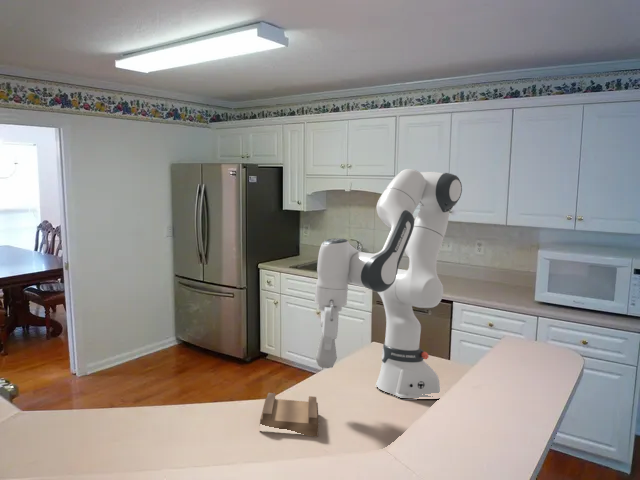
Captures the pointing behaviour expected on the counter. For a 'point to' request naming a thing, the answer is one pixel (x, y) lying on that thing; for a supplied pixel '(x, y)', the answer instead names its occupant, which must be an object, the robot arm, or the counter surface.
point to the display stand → (291, 415)
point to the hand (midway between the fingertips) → (327, 347)
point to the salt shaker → (326, 353)
